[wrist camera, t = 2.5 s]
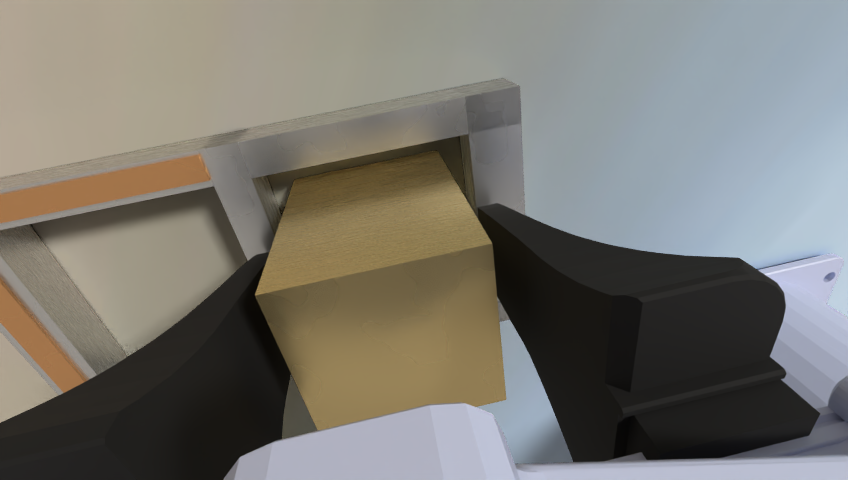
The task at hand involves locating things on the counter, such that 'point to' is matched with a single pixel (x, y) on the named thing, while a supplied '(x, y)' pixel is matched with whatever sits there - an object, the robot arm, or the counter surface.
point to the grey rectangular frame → (227, 201)
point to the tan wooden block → (384, 292)
